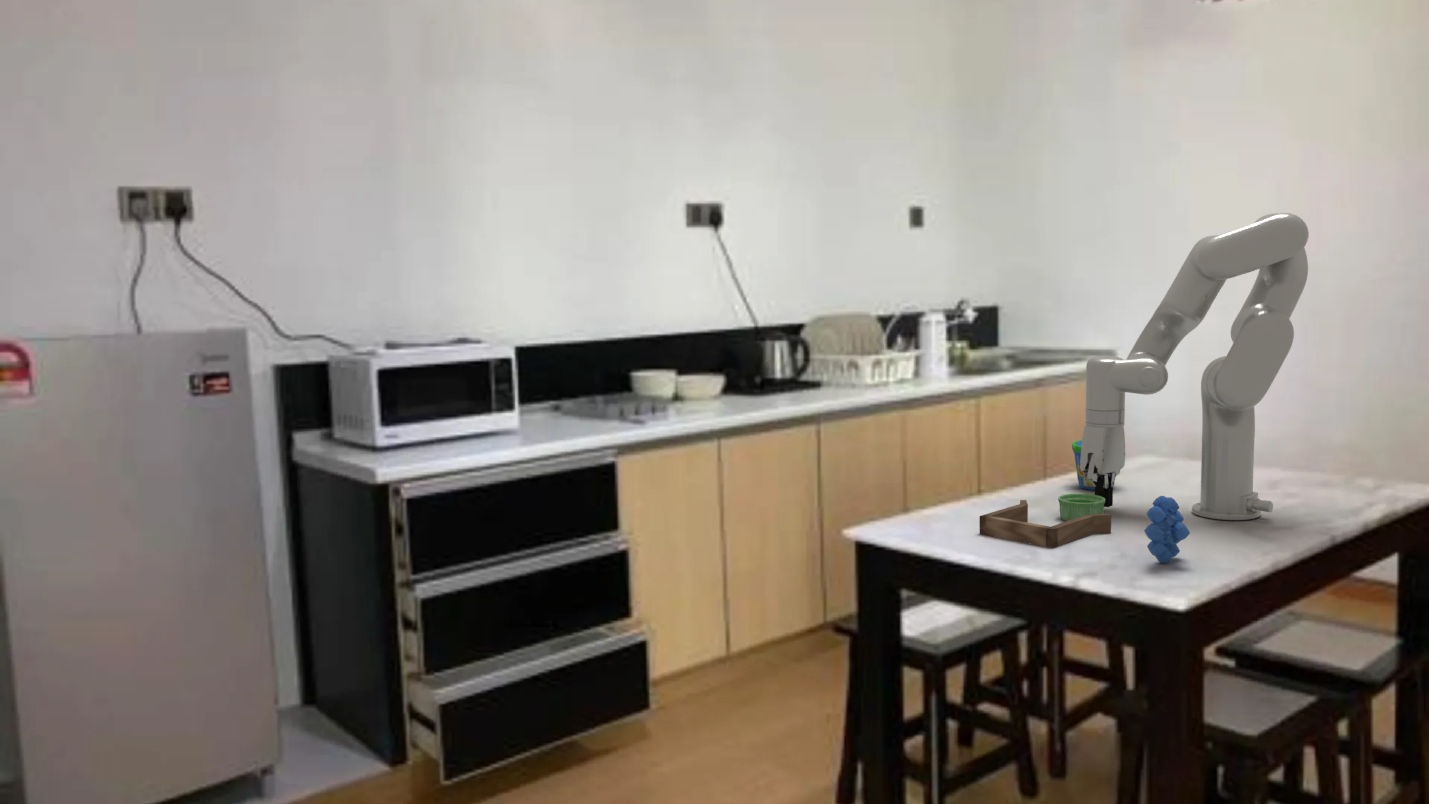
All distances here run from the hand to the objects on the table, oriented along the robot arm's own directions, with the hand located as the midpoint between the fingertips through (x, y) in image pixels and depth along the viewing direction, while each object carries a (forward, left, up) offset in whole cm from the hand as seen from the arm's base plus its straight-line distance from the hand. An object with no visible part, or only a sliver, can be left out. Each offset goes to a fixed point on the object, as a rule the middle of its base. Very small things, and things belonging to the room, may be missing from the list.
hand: (1103, 505), depth 233 cm
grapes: (-28, +28, -1) cm, 39 cm away
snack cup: (+13, -19, -1) cm, 23 cm away
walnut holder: (0, +23, -1) cm, 23 cm away
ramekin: (0, +9, -2) cm, 9 cm away
